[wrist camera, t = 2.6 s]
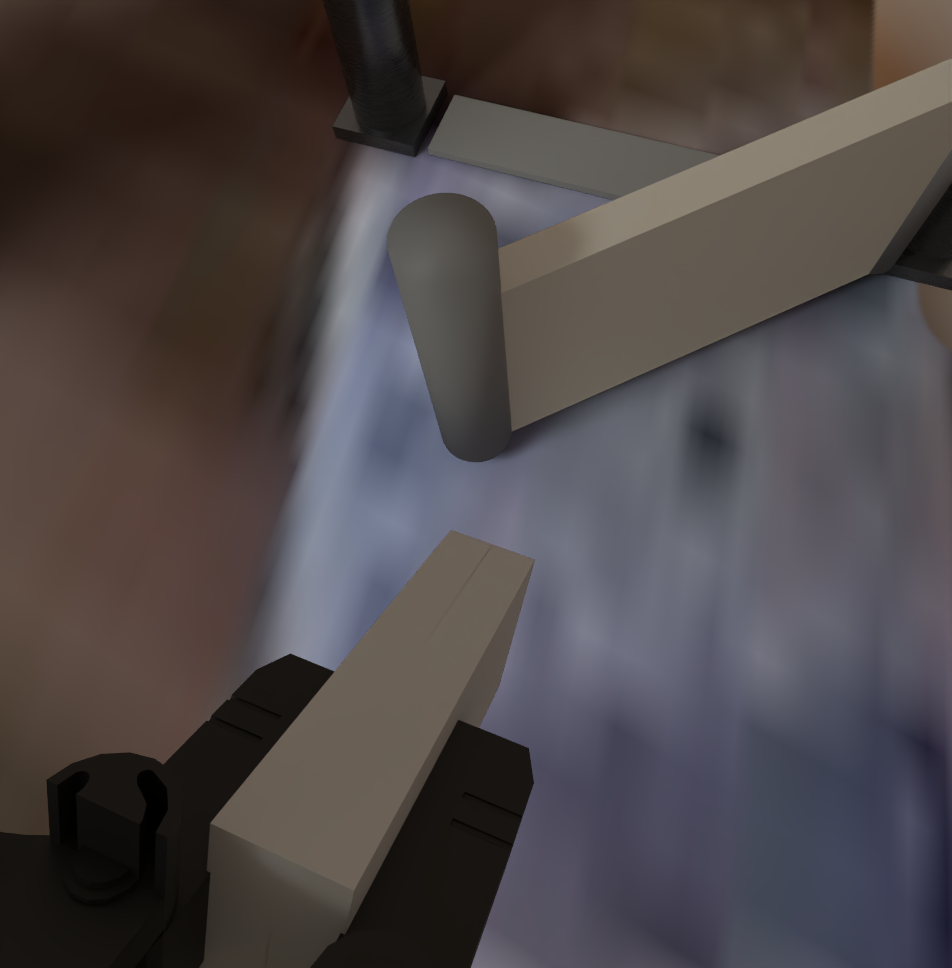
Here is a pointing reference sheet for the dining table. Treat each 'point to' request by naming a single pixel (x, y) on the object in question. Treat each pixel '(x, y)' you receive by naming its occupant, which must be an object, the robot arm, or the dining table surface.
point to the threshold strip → (556, 149)
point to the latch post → (382, 76)
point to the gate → (662, 261)
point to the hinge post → (930, 249)
